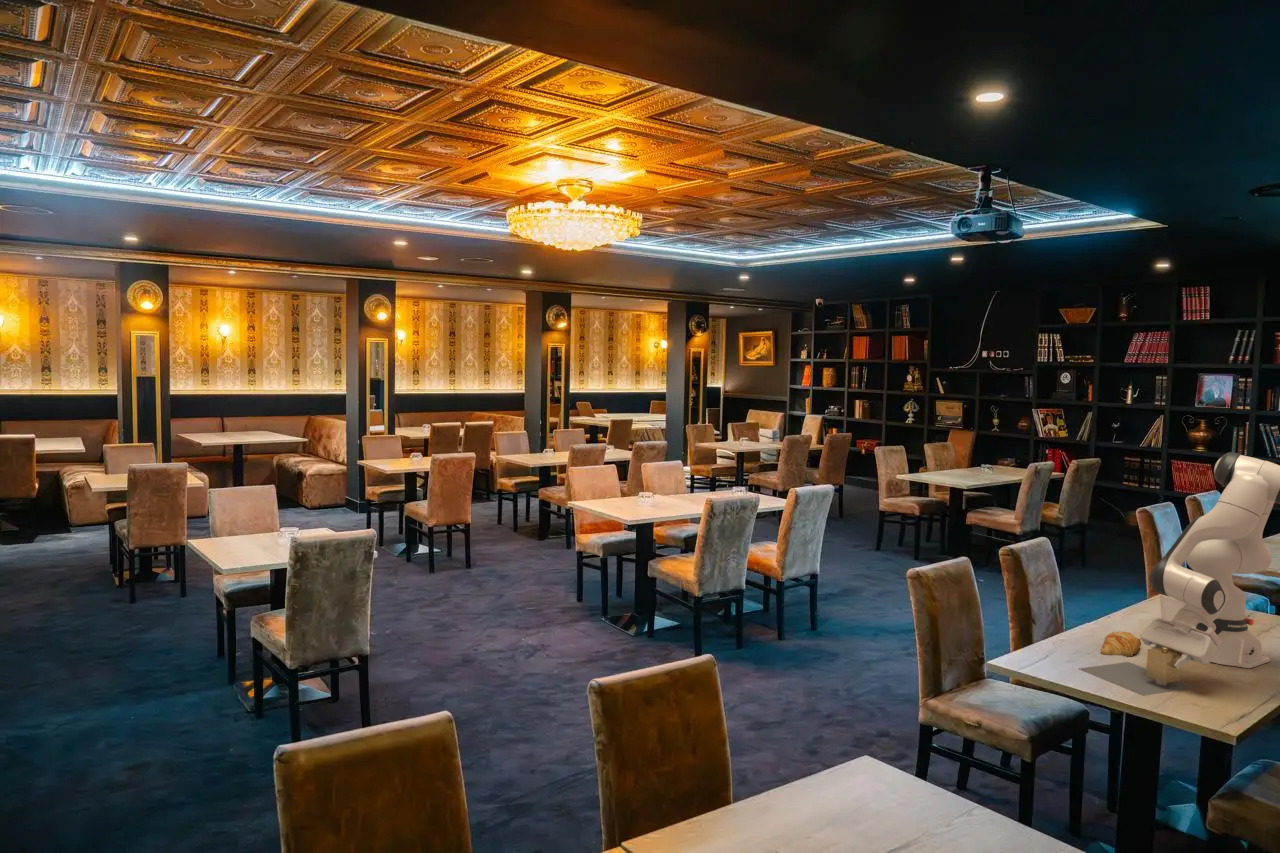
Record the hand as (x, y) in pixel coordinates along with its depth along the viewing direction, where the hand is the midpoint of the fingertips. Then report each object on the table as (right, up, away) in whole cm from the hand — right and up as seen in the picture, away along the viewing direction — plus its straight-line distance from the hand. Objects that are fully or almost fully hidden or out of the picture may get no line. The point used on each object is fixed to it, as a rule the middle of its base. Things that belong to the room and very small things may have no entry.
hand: (1162, 663), depth 245 cm
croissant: (+6, -6, +32) cm, 33 cm away
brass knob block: (0, -4, 0) cm, 5 cm away
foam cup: (+42, -4, +62) cm, 76 cm away
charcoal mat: (-5, -7, +6) cm, 10 cm away
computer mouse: (0, -6, +1) cm, 6 cm away
